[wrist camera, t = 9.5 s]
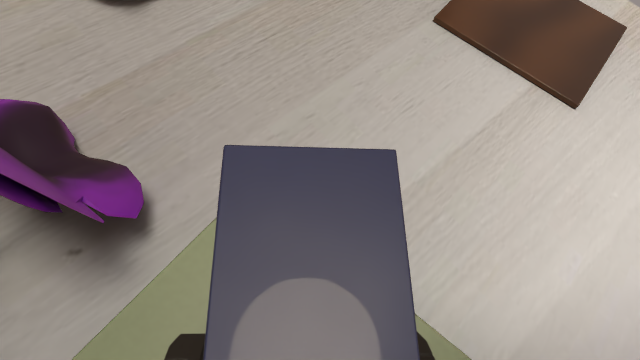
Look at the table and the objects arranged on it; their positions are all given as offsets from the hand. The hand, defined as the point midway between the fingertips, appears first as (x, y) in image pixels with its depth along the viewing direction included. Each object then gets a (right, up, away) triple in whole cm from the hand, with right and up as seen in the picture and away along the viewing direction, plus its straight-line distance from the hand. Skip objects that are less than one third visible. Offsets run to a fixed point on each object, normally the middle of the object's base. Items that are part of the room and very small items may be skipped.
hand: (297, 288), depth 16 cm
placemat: (+20, +18, +21) cm, 34 cm away
